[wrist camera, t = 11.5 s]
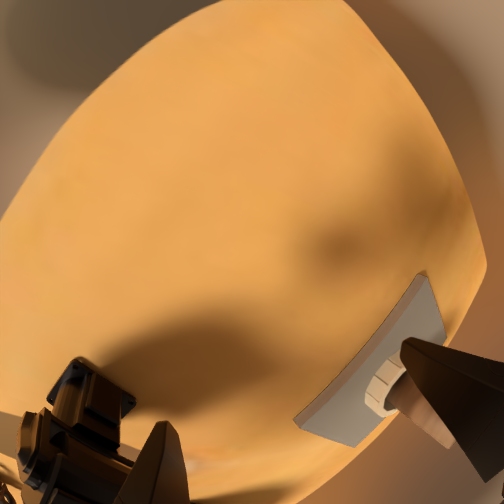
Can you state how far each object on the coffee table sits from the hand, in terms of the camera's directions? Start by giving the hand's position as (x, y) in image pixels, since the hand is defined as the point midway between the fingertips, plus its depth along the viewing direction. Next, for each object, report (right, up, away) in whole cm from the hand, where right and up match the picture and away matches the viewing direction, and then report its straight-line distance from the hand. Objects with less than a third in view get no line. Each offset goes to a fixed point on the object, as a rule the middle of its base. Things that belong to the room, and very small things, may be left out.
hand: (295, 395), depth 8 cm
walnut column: (+16, -11, +20) cm, 28 cm away
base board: (+16, -11, +22) cm, 29 cm away
